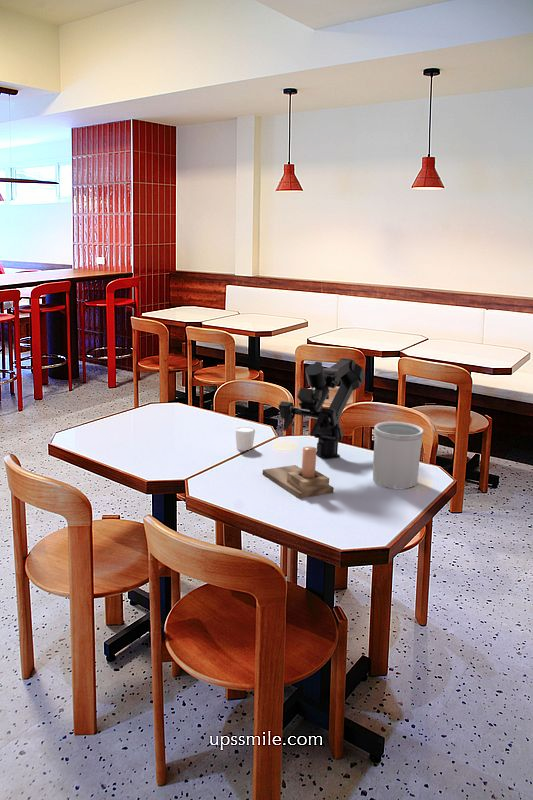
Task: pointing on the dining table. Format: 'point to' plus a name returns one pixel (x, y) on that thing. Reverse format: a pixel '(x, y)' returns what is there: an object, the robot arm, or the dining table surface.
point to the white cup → (244, 438)
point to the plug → (308, 462)
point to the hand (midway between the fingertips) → (297, 432)
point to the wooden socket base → (299, 481)
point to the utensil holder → (396, 454)
